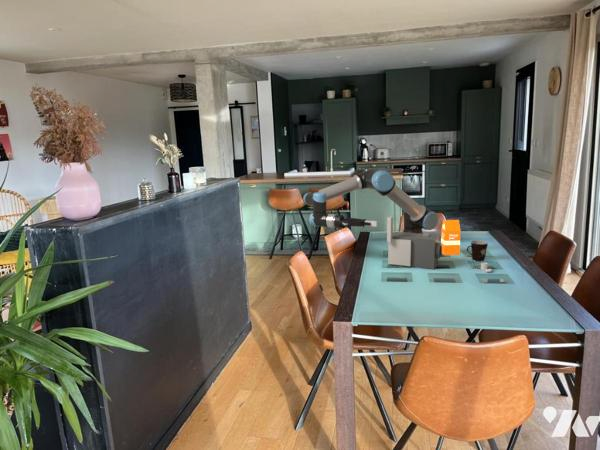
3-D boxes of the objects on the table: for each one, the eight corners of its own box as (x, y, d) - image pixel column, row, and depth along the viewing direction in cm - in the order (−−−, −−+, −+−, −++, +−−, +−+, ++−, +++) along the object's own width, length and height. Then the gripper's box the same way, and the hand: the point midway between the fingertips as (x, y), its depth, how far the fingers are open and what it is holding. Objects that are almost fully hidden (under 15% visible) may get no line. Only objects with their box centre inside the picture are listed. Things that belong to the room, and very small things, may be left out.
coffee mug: (484, 257, 256) (485, 240, 254) (488, 262, 248) (489, 244, 245) (462, 257, 257) (463, 240, 255) (466, 262, 249) (467, 244, 247)
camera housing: (394, 259, 258) (394, 229, 255) (442, 263, 247) (443, 233, 243) (388, 264, 248) (389, 234, 244) (438, 270, 236) (439, 238, 233)
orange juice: (459, 254, 263) (461, 221, 259) (444, 255, 263) (445, 221, 259) (455, 251, 270) (456, 218, 266) (440, 251, 271) (441, 218, 267)
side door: (388, 263, 247) (389, 216, 242) (410, 265, 242) (411, 217, 237) (386, 265, 244) (387, 217, 238) (409, 267, 239) (410, 219, 233)
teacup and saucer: (494, 273, 229) (494, 266, 228) (477, 273, 231) (478, 265, 230) (490, 268, 238) (491, 261, 237) (474, 268, 239) (475, 260, 238)
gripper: (340, 225, 260) (380, 228, 250) (331, 230, 249) (373, 233, 239) (340, 212, 259) (380, 214, 249) (331, 216, 247) (373, 219, 237)
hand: (376, 223), depth 244 cm, fingers closed
